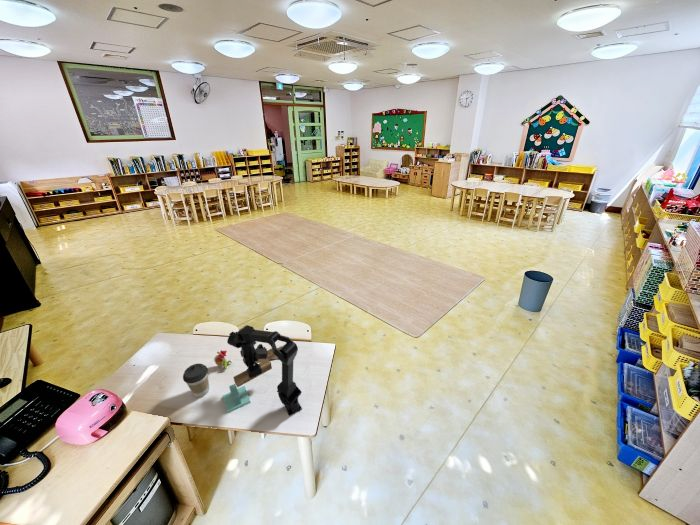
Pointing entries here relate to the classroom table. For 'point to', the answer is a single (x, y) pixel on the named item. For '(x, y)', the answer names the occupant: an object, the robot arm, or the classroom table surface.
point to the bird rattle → (221, 359)
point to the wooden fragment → (270, 355)
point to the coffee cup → (197, 379)
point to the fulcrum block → (235, 398)
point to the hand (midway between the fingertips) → (253, 373)
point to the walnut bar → (244, 377)
